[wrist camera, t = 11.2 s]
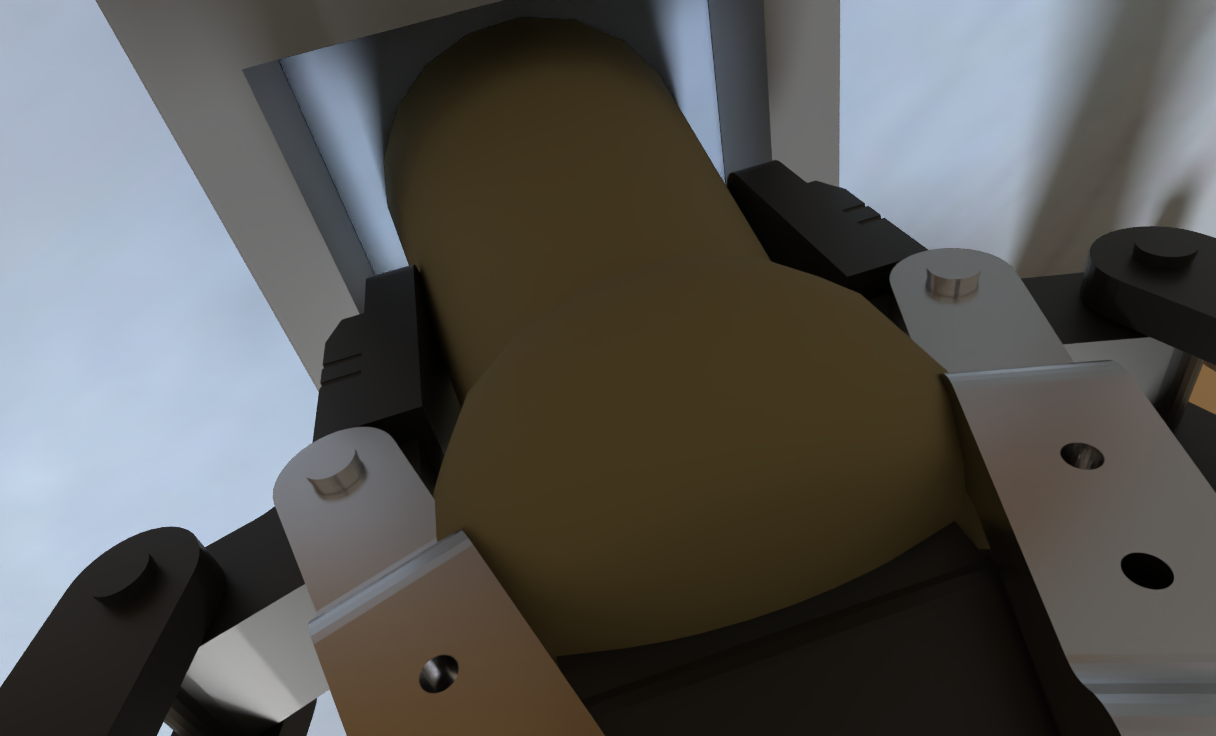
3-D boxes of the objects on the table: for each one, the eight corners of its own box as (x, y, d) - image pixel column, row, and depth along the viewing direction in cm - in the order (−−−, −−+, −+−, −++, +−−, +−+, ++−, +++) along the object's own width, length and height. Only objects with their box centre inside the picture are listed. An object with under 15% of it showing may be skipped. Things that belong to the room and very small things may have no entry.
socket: (144, -33, 11) (90, -8, 9) (764, -188, 12) (840, -196, 10) (389, 440, 17) (389, 517, 15) (787, 316, 18) (837, 374, 16)
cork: (552, -67, 12) (989, 141, 3) (741, 182, 15) (1200, 606, 7) (312, 184, 13) (173, 805, 5) (536, 362, 17) (697, 910, 8)
